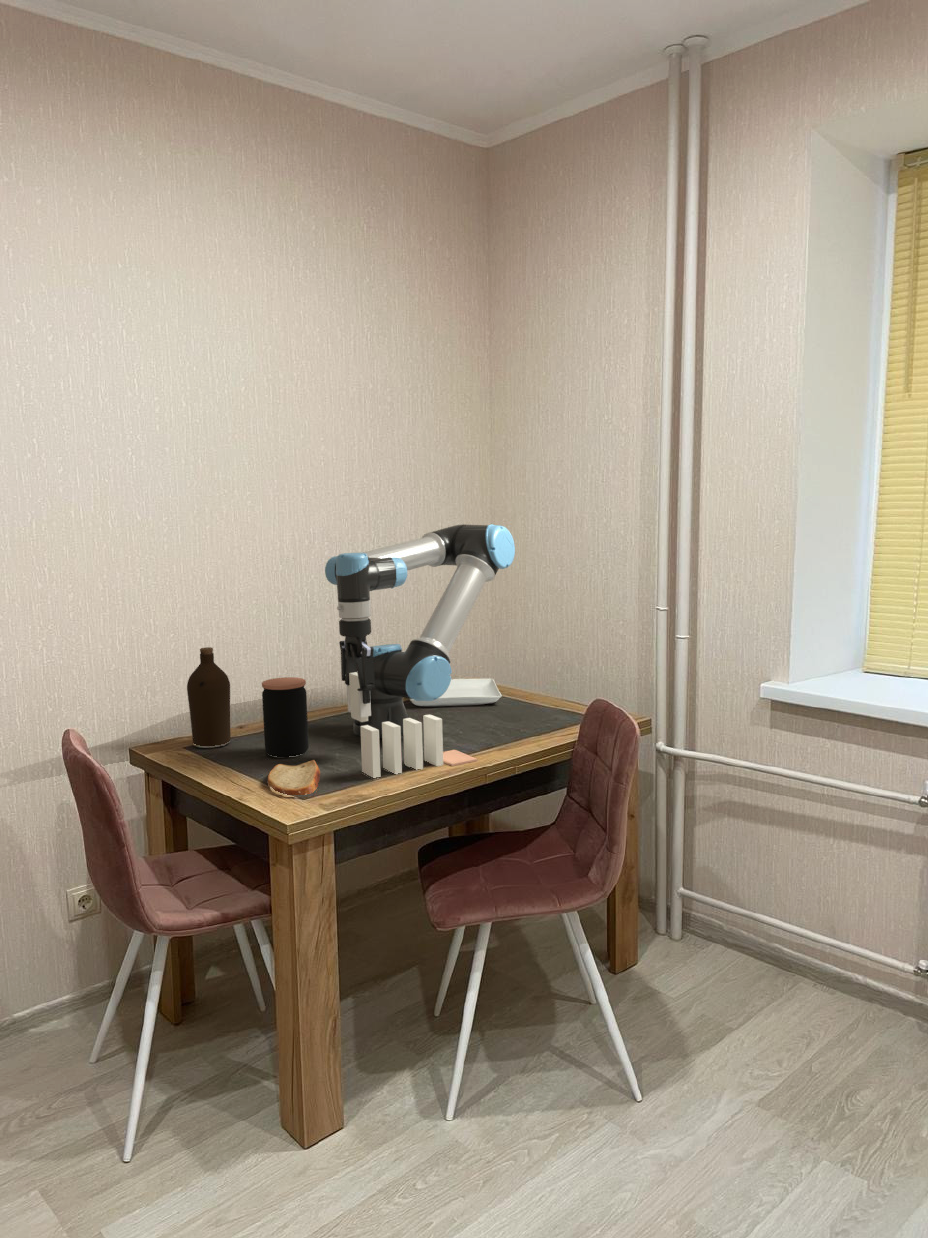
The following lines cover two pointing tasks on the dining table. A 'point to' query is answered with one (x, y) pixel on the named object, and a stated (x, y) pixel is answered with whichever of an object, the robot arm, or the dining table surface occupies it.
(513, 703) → the dining table surface
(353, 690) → the domino
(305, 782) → the slice of bread
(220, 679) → the olive oil
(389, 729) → the domino
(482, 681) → the square plate
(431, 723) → the domino
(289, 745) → the coffee jar
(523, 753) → the dining table surface
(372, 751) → the domino
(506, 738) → the dining table surface
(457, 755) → the mat
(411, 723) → the domino
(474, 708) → the dining table surface
